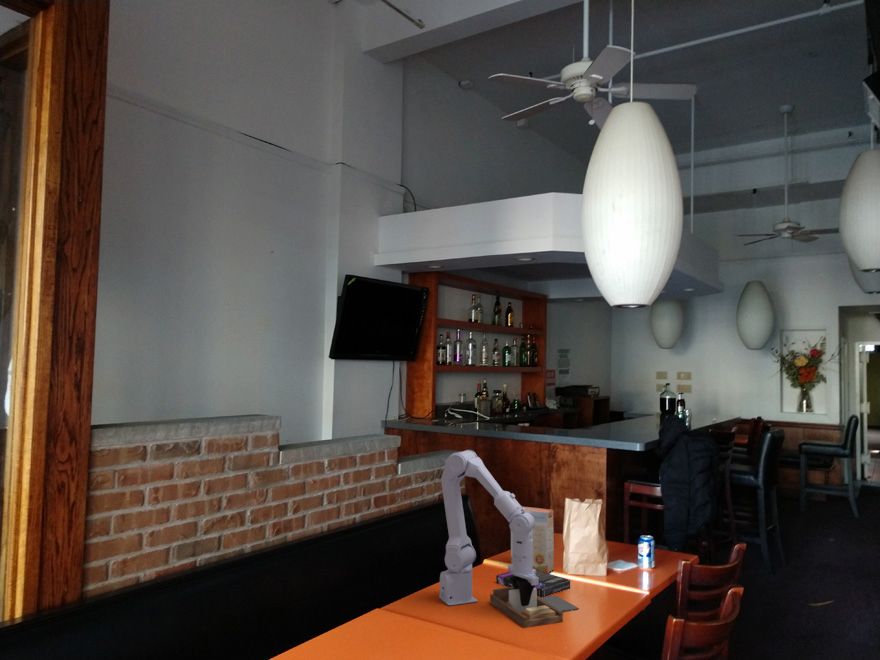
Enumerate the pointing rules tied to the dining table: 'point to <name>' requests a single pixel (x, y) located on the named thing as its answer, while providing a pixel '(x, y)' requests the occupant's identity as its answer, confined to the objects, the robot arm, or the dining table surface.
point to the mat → (559, 603)
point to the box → (546, 583)
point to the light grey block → (516, 603)
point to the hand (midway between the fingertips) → (522, 603)
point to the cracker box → (541, 540)
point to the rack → (499, 602)
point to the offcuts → (538, 612)
